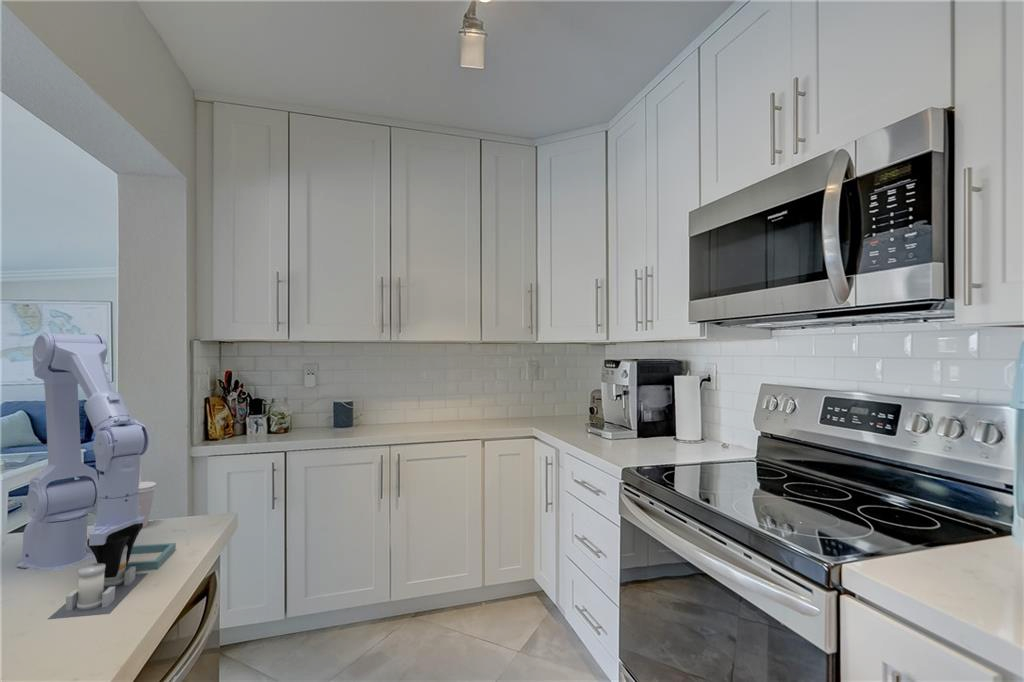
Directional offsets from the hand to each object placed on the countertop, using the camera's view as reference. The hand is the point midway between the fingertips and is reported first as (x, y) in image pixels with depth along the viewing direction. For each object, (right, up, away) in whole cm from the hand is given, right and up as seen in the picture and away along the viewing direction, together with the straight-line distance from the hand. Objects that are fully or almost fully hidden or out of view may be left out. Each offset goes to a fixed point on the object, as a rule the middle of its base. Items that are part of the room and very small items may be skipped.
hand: (114, 572), depth 90 cm
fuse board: (+1, -3, -4) cm, 5 cm away
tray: (-3, -3, +9) cm, 10 cm away
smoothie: (-17, -3, +29) cm, 34 cm away
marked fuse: (0, -2, 0) cm, 2 cm away
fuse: (+2, -2, -8) cm, 8 cm away
